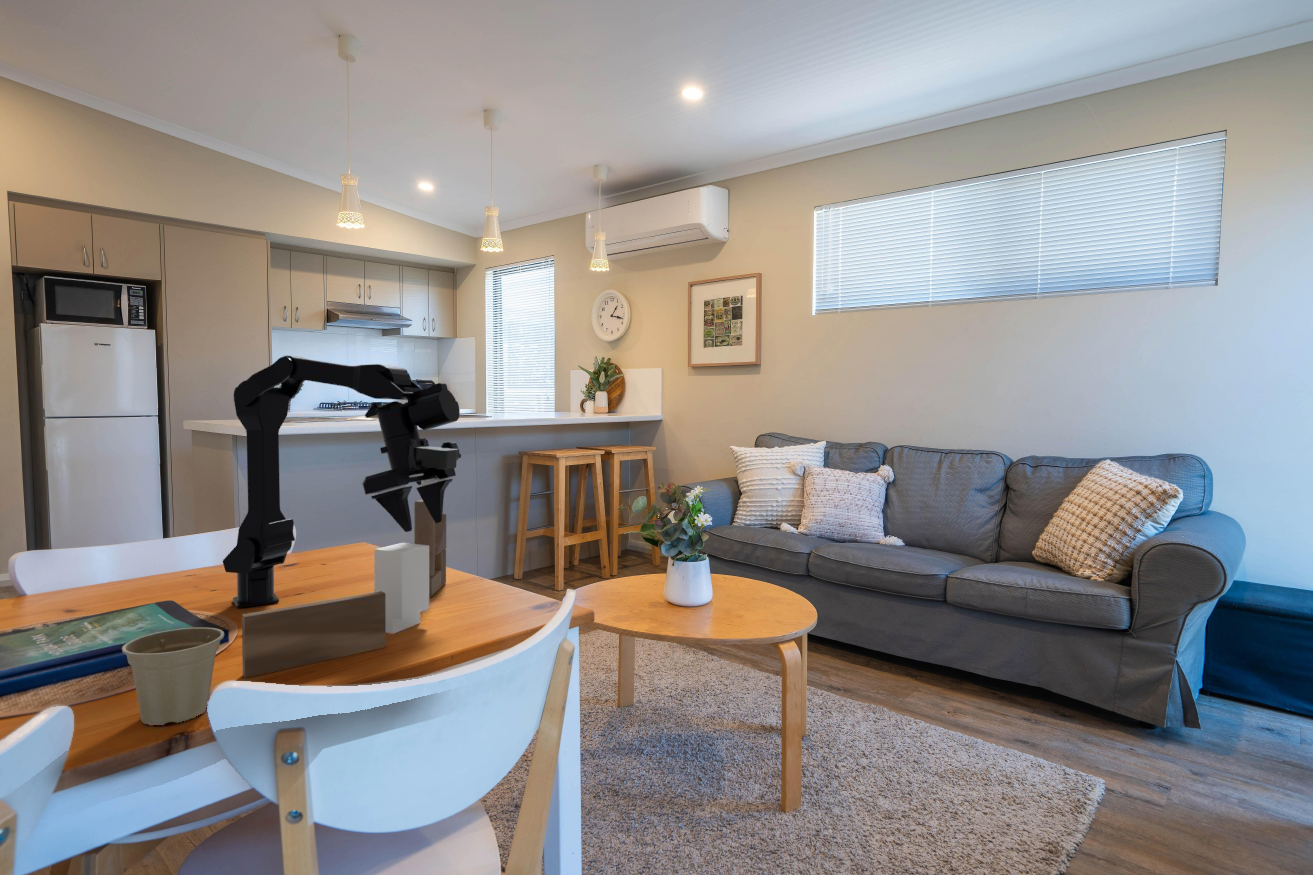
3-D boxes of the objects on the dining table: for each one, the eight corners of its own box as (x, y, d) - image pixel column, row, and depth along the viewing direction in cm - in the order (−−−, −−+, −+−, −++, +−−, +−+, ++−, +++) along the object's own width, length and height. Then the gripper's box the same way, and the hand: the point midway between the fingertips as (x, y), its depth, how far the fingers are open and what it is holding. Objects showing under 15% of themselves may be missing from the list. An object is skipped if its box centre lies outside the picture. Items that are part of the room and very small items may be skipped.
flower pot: (158, 697, 81) (157, 626, 81) (240, 696, 82) (240, 625, 82) (101, 734, 72) (100, 655, 72) (194, 732, 73) (193, 653, 72)
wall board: (240, 671, 90) (239, 612, 89) (378, 641, 102) (378, 589, 101) (245, 677, 88) (244, 616, 87) (385, 646, 100) (385, 593, 99)
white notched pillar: (370, 629, 107) (370, 548, 107) (398, 619, 113) (398, 542, 112) (402, 635, 105) (402, 552, 104) (429, 624, 110) (429, 545, 110)
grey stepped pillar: (446, 583, 137) (446, 494, 136) (431, 597, 126) (431, 501, 125) (428, 583, 137) (428, 494, 136) (411, 597, 126) (411, 501, 125)
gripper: (411, 426, 104) (436, 524, 103) (470, 424, 122) (492, 508, 121) (350, 444, 106) (374, 540, 106) (416, 439, 124) (437, 522, 124)
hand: (424, 526), depth 114 cm, fingers open, 9 cm apart
